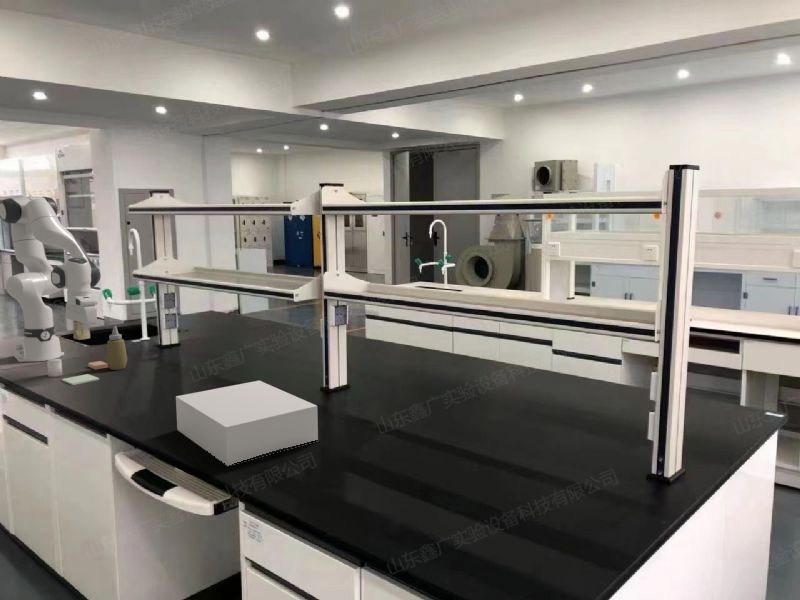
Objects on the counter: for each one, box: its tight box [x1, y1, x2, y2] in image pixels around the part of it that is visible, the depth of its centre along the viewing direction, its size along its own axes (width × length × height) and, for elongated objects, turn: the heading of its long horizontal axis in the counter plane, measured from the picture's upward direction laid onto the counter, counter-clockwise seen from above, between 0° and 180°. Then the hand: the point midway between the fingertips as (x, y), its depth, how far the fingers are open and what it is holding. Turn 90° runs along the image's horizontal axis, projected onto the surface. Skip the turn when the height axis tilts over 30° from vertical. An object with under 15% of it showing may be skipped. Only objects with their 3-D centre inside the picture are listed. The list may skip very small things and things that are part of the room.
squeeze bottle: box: [106, 325, 128, 371], centre depth 257 cm, size 8×8×18 cm
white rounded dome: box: [46, 358, 63, 378], centre depth 248 cm, size 5×5×6 cm
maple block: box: [72, 320, 91, 341], centre depth 249 cm, size 4×4×7 cm
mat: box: [61, 373, 100, 386], centre depth 240 cm, size 10×10×1 cm
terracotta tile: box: [87, 360, 109, 370], centre depth 261 cm, size 7×5×2 cm
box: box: [175, 380, 319, 467], centre depth 180 cm, size 28×35×11 cm
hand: (81, 332), depth 249 cm, fingers closed on maple block, 4 cm apart
